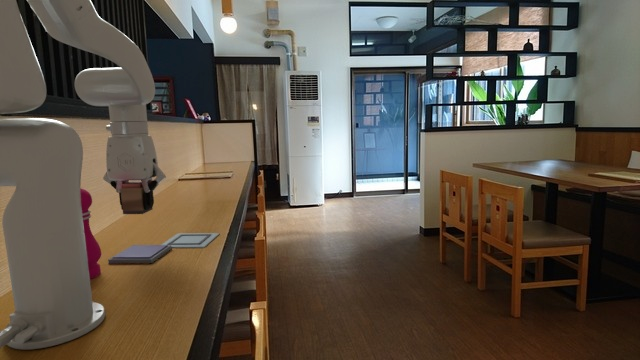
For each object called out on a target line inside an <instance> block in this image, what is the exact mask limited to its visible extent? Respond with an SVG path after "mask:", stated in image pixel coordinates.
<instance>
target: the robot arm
mask: <svg viewBox="0 0 640 360" xmlns="http://www.w3.org/2000/svg"><path fill="white" fill-rule="evenodd" d="M26 1H27V3H28V4H29V6H30V8H31V10H32V11H33V12H34V13H35V15H36V16H37V18H38V20H39V22H40V23H41V25H42V26H43V28H44V30H45V32H47V34H48V35H49V36H50V37H52V38H53V39H55V40H56V41H58V42H60V43H61V44H62V43H63V44H66V45H68V46H71V47H74V48H76V49H80V50H82V51H85V52H89V53H92V54H94V55H97V56H99V57H102V58H104V59H107V60H109V61H111V62H113V63H114V64H115V65H117V66H118V67H102V68H101V67H93V68H87V69H84V70H82V71H80V72H79V73H78V74H77V75H76V77H75V79H74V89H75V92H76V94H77V96H78V98H80V100H82V101H83V102H84V103H86V104H87V105H90V106H93V107H94V106H95V107H108V112H109V114H108V115H109V124H108V125H106V127H105V130H106V132H110V134H111V136H107V143H106V150H105V151H106V156H105V157H106V158H105V160H106V161H105V162H106V172H105V174H104V176H103V178H102V180H103V181H105V182H106V183H108V184H109V185H110V186H111V187H113V189H115V192H116V193H118V195H119V205H120V207H121V210H122V211H123V208H122V199H121V188H122V184H124V183H127V182H130V181H141V182H142V185H143V188H144V193H143V205H144V209H145V210H147V209H150V208H152V209H153V208H154V204H155V200H154V191H155V190H156V188H157V187H158V186H159V184H161V183H162V182H163V181H164V180H166V178H167V175H166V173H164V172H163V171H162V169H161V168H160V167H159V165H158V163H159V162H158V157H157V151H156V148H155V143H154V139H153V137H152V135H149V126H148V116H147V114H148V113H147V105H148V104H149V103H151V102H152V101H153V100H154V98H155V94H156V86H155V81H154V78H153V74H152V72H151V69H150V67H149V65H148V63H147V61H146V58H145V55H144V54H143V52H142V51H141V49H140V48H139V46H138V45H136V43H135V42H134V41H132V40H131V39H130V38H129V37H128V36H127V35H125V33H124V32H122V31H120V30H119V29H118V28H116V27H115V26H114V25H112V24H111V23H109V22H108V21H106V20H105V19H103V18H101V16H99V14H98V12H97V11H96V8H95V5H94V4H93V2H92V0H26ZM29 36H30V35H29V34H28V30H27V28H26V26H25V23H24V20H23V18H22V15H21V12H20V9H19V6H18V2H17V0H0V115H5V114H6V115H7V114H18V113H27V112H30V111H34V110H36V109H38V108H40V107H41V106H42V105H43V104H44V102H45V101H46V98H47V84H46V81H45V78H44V74H43V71H42V69H41V66H40V63H39V61H38V60H39V59H38V57H37V56H36V55H37V54H36V52H35V49H34V47H33V45H32V42H31V38H30V37H29ZM83 148H84V147H83V143H82V140H81V137H80V135H79V134H78V132H77V131H76V130H75V129H74V128H73V127H72V126H70V125H68V124H66V123H64V122H62V121H59V120H55V119H50V118H41V117H40V118H39V117H38V118H37V117H35V118H34V117H32V118H31V117H28V118H27V117H26V118H25V117H24V118H21V117H20V118H1V119H0V187H15V190H14V192H13V193H12V196H11V197H10V199H9V201H8V202H7V203H6V206H5V209H4V211H3V215H2V218H1V219H2V230H3V231H2V232H3V235H4V243H5V251H6V256H7V263H8V269H9V271H8V272H9V277H10V283H11V284H10V285H11V290H12V291H11V292H12V298H13V305H14V312H12V313H10V314H9V321H10V322H9V323H7V324H6V326H5V328H4V329H1V330H0V349H1V348H3V347H5V346H6V345H7V346H8V347H9V348H12V349H15V350H21V351H22V350H38V349H44V348H49V347H53V346H57V345H62V344H64V343H67V342H69V341H73V340H75V339H77V338H80V337H82V336H83V335H85V334H88V333H90V332H91V331H93V330H94V329H96V328H97V327H98V326H99V325H100V324H101V323H102V322H103V321H104V319H105V317H106V309H105V306H103V304H101V303H98V302H95V301H93V297H92V295H93V294H92V288H91V279H90V277H89V268H88V259H87V251H86V242H85V233H84V225H83V217H82V207H81V191H80V188H81V184H82V183H81V182H82V181H81V180H82V179H81V178H82V168H83V159H84V158H83V157H84V150H83ZM153 178H154V179H153Z"/></svg>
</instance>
